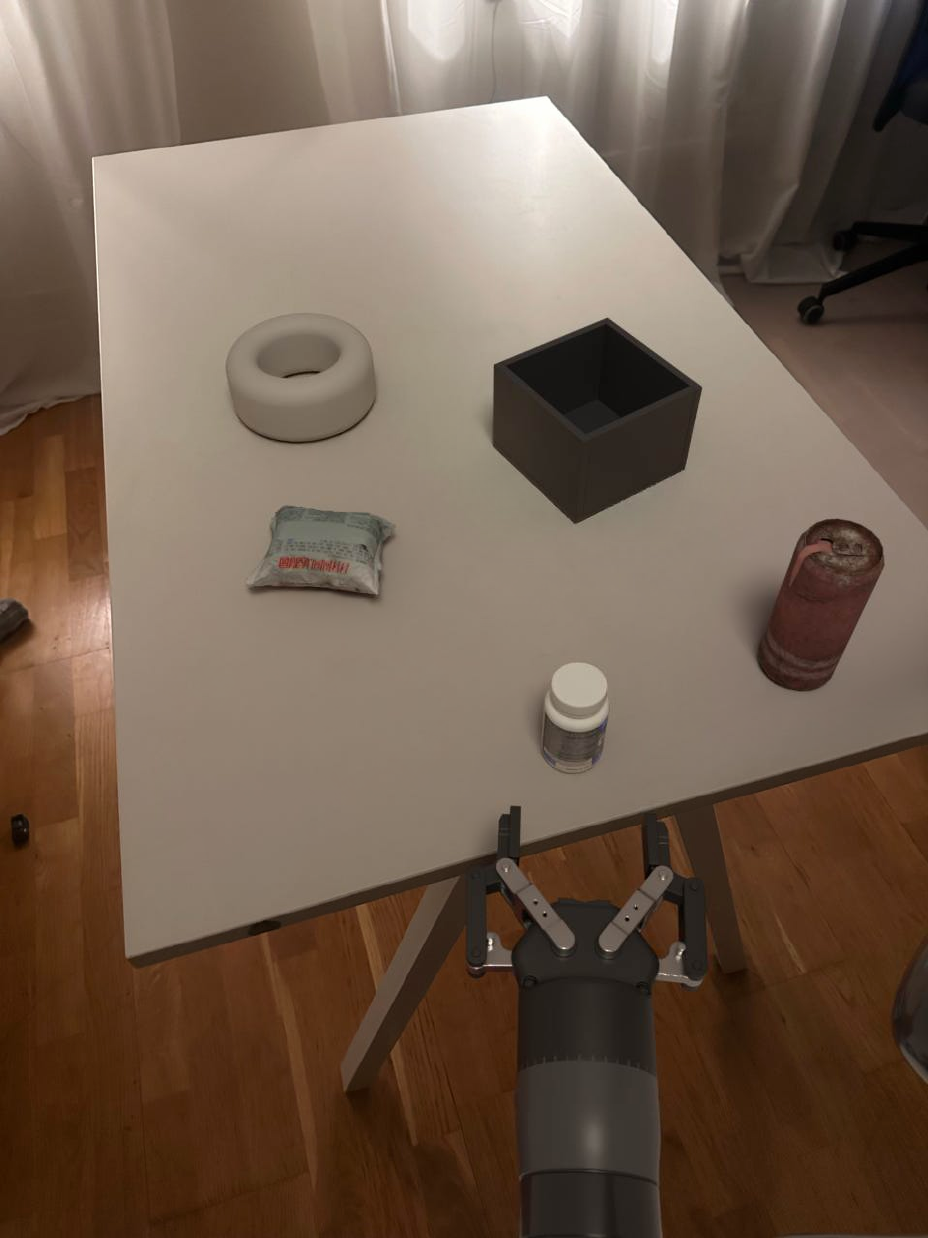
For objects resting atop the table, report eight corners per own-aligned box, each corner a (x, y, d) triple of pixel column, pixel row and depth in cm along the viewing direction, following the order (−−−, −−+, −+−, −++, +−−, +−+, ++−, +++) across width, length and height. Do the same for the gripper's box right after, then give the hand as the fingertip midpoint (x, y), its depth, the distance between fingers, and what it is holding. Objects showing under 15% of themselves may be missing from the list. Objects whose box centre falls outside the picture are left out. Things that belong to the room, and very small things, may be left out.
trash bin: (598, 398, 101) (607, 316, 94) (685, 469, 94) (702, 386, 86) (492, 446, 97) (493, 364, 89) (575, 524, 89) (583, 442, 82)
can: (739, 647, 80) (780, 527, 69) (805, 626, 81) (855, 505, 70) (780, 703, 76) (829, 586, 65) (848, 680, 77) (907, 561, 67)
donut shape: (207, 424, 99) (192, 370, 94) (283, 346, 108) (273, 293, 103) (332, 463, 95) (323, 408, 90) (401, 379, 104) (397, 325, 99)
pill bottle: (608, 770, 72) (620, 707, 66) (547, 778, 72) (553, 715, 66) (594, 718, 75) (604, 653, 69) (535, 726, 75) (540, 661, 69)
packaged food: (380, 612, 83) (375, 572, 79) (247, 600, 84) (237, 560, 80) (398, 541, 88) (394, 501, 85) (273, 531, 89) (264, 491, 86)
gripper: (736, 1076, 48) (703, 790, 58) (452, 1058, 48) (470, 779, 59) (708, 1113, 54) (683, 846, 64) (455, 1097, 54) (471, 836, 65)
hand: (581, 814), depth 61 cm, fingers open, 8 cm apart
